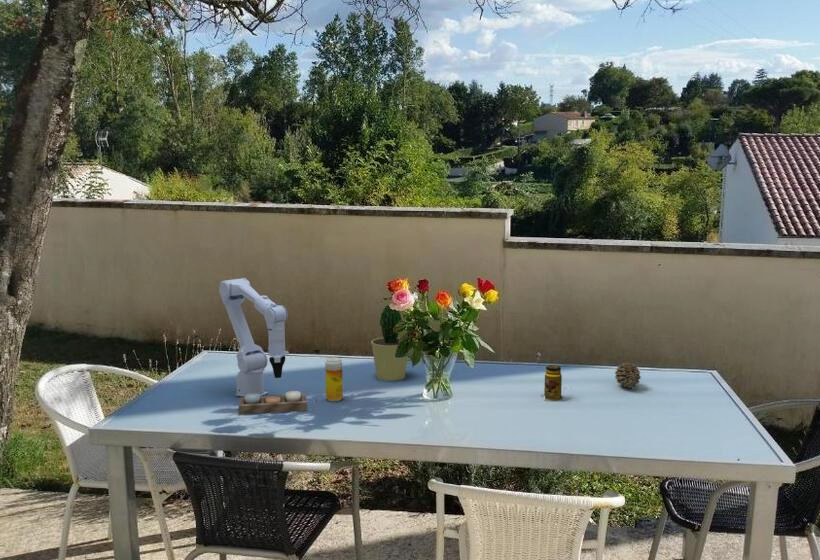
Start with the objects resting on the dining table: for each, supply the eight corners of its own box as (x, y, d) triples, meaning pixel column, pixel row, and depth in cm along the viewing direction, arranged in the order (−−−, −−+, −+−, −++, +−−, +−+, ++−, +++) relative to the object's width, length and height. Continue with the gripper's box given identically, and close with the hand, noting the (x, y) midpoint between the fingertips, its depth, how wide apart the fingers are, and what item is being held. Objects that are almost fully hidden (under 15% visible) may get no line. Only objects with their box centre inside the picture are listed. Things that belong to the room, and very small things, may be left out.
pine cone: (644, 393, 282) (645, 367, 280) (617, 392, 283) (618, 367, 281) (632, 377, 304) (633, 353, 302) (608, 376, 305) (608, 352, 303)
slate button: (244, 405, 261) (244, 398, 261) (245, 401, 266) (245, 393, 266) (260, 404, 262) (259, 397, 262) (260, 400, 267) (260, 392, 267)
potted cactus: (363, 377, 304) (362, 304, 300) (389, 370, 316) (388, 299, 311) (392, 384, 294) (391, 308, 290) (417, 376, 306) (417, 303, 301)
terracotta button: (265, 408, 263) (265, 401, 262) (265, 404, 268) (265, 396, 267) (280, 408, 264) (280, 400, 263) (280, 403, 269) (280, 395, 268)
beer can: (340, 402, 272) (339, 361, 270) (323, 401, 274) (323, 360, 271) (344, 397, 278) (344, 357, 276) (328, 396, 279) (328, 356, 277)
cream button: (285, 403, 264) (285, 395, 263) (285, 399, 269) (285, 391, 268) (301, 402, 265) (300, 394, 264) (300, 398, 270) (300, 390, 269)
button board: (239, 414, 259) (238, 406, 259) (240, 405, 269) (239, 397, 268) (307, 410, 263) (306, 402, 263) (305, 402, 273) (305, 394, 272)
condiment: (545, 401, 273) (546, 368, 271) (540, 394, 281) (541, 362, 280) (565, 401, 273) (566, 368, 272) (559, 394, 282) (560, 362, 280)
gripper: (288, 344, 262) (289, 382, 264) (287, 335, 276) (288, 371, 278) (267, 345, 261) (269, 383, 263) (268, 336, 275) (269, 372, 277)
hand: (277, 377), depth 271 cm, fingers closed
